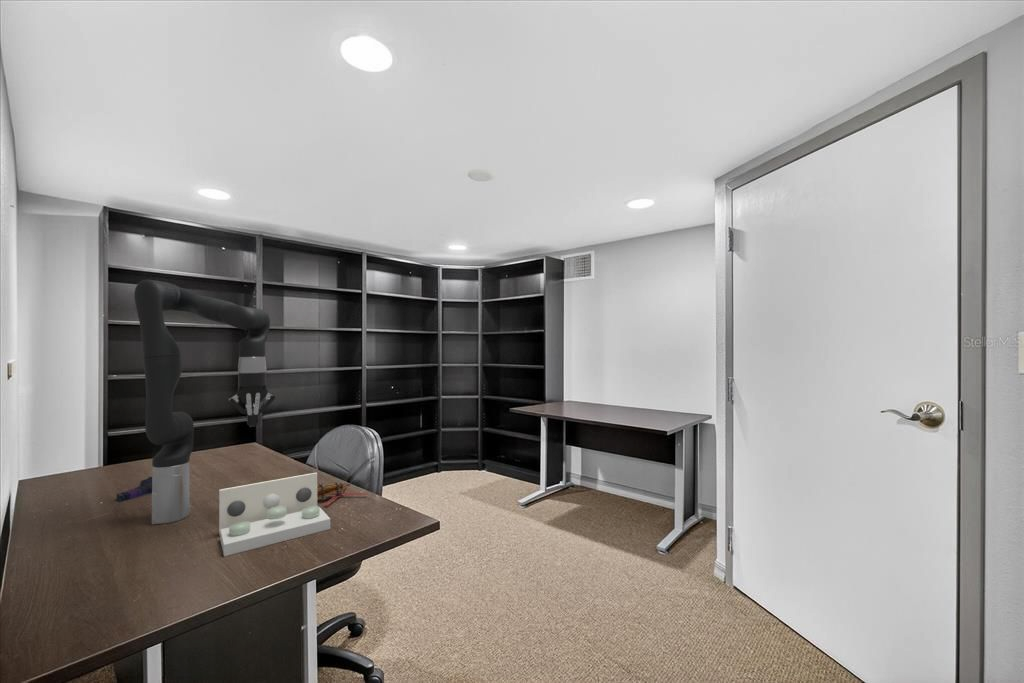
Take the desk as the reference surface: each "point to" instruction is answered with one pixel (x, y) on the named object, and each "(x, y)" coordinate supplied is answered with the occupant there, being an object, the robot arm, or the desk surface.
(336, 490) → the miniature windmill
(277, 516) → the button middle
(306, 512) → the button right
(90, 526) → the desk surface
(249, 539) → the button panel
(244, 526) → the button left
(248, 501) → the pattern card
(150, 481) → the handgun
